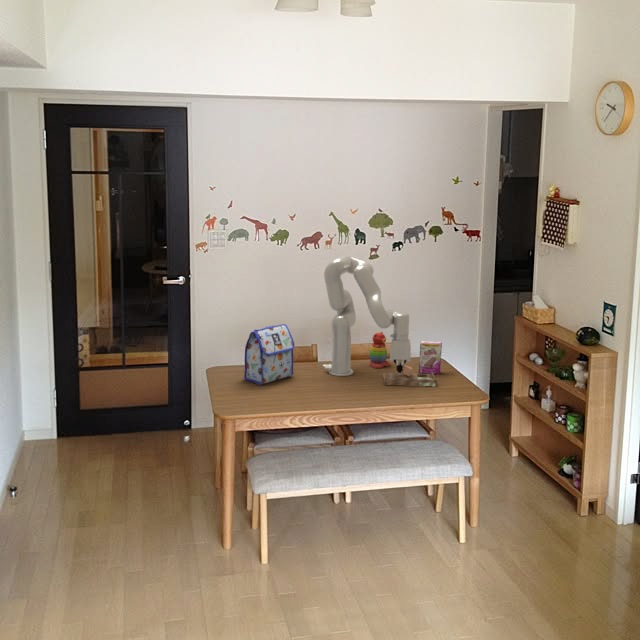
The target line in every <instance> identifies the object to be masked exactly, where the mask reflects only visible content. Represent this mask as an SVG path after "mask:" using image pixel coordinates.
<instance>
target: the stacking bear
mask: <svg viewBox="0 0 640 640" xmlns="http://www.w3.org/2000/svg"><path fill="white" fill-rule="evenodd" d="M386 341H387V338H386V336H385V334H384V333H383V332H382V331H380V332H376V333H374V334H373V336H372V342H373V343H372V344H371V346H370V348H369V354H368V355H369V359H370V361H369V366H370V367H371V368H374V369H378V368H380V369H382V368H384V366H386V367H390V366H391V362H390V361H387V356H388V350H387V345H386ZM389 365H390V366H389Z"/></svg>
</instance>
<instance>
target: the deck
mask: <svg viewBox="0 0 640 640" xmlns="http://www.w3.org/2000/svg"><path fill="white" fill-rule="evenodd" d="M382 377H383V378H384V379H383V378H382V379H383V383H384V384H385V385H403V386H402V387H425V386H432V388H434V387H435V388H436V384H437V379H436V376H435V374H433V371H431V374H424V373H411V375H410V376H409V377H408V376H407V375H405V374H404V375H403V374H402V372H401V373H398V372H393V373H392V372H383V373H382ZM385 385H384V386H385Z"/></svg>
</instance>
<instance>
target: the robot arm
mask: <svg viewBox="0 0 640 640" xmlns="http://www.w3.org/2000/svg"><path fill="white" fill-rule="evenodd" d="M374 272H375V271H374V268H373V266H372V264H370V263H368V262H367V261H364V260H360V259H359V258H356V257H352V256H350V255H348V254H347V255H345V254H344V255H340V256H339V257H336V258H335V259H333V260H331V261H330V262H329V263H328V264H327V265H326V267H325V269H324V274H323V275H324V276H323V278H324V282H325V287H326V292H327V293H326V294H327V299H328V302H329V307H330V308H331V309H332V310H333V311H336V314H335V315H334V316H333V318H332V320H331V334H332V335H331V337H332V338H331V339H332V342H331V343H332V346H331V351H332V352H331V356H332V357H331V363H329V364H323V365H322V368H323V369H325V370H328V373H329V375H331V376H335V377H348V376H351V375H353V374H354V370H353V369H352V368H351V359H352V358H351V357H352V356H351V354H352V351H351V350H352V333H351V327H353V326H354V324H355V323H356V322H357V321H356V320H357V316H356V310H355V306H354V301H353V297H352V295H351V293H350V292H349V291H348V290H346V289H344V284H343V281H342V275H344V274H345V273H348V274H351V275H353V277H354V280H355V281H356V283H357V286H358V287H359V289H360V290H361V293H362V294H363V296H364V299H365V301H366V304H367V309H368V311H369V313H370V315H371V317H372V319H373V320H374V322H375V324H376V325H377V326H378V327H379V328H380V329H387V328H389V327H390V326H392V325H393V332H392V334H390V336H389V337H390V338H392V339H391V343H390V346H389V347H390V349H389V362H394V363H395V365H396V371H397V373H402V371H403V367H404V365H406V363H408V362H409V363H410V362H411V353H412V351H411V350H412V349H411V340H410V339H409V330H410V328H409V327H410V315H409V313H408V312H404V311H403V312H402V311H393V310H390V309H389V310H388V309H386V308H384V305H383V301H382V292H381V288H380V287H379V285H378V283H377V280H375V277H374V276H373V275H374ZM399 361H400V362H399Z"/></svg>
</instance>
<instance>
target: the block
mask: <svg viewBox="0 0 640 640" xmlns="http://www.w3.org/2000/svg"><path fill="white" fill-rule="evenodd" d="M412 372H413V367H411V366H408V365H407V364H404V365H403V371H401V373H402V374H403V375H404V374H405V375H407V376H408V377H409V376H410V375H411V374H412Z"/></svg>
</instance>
